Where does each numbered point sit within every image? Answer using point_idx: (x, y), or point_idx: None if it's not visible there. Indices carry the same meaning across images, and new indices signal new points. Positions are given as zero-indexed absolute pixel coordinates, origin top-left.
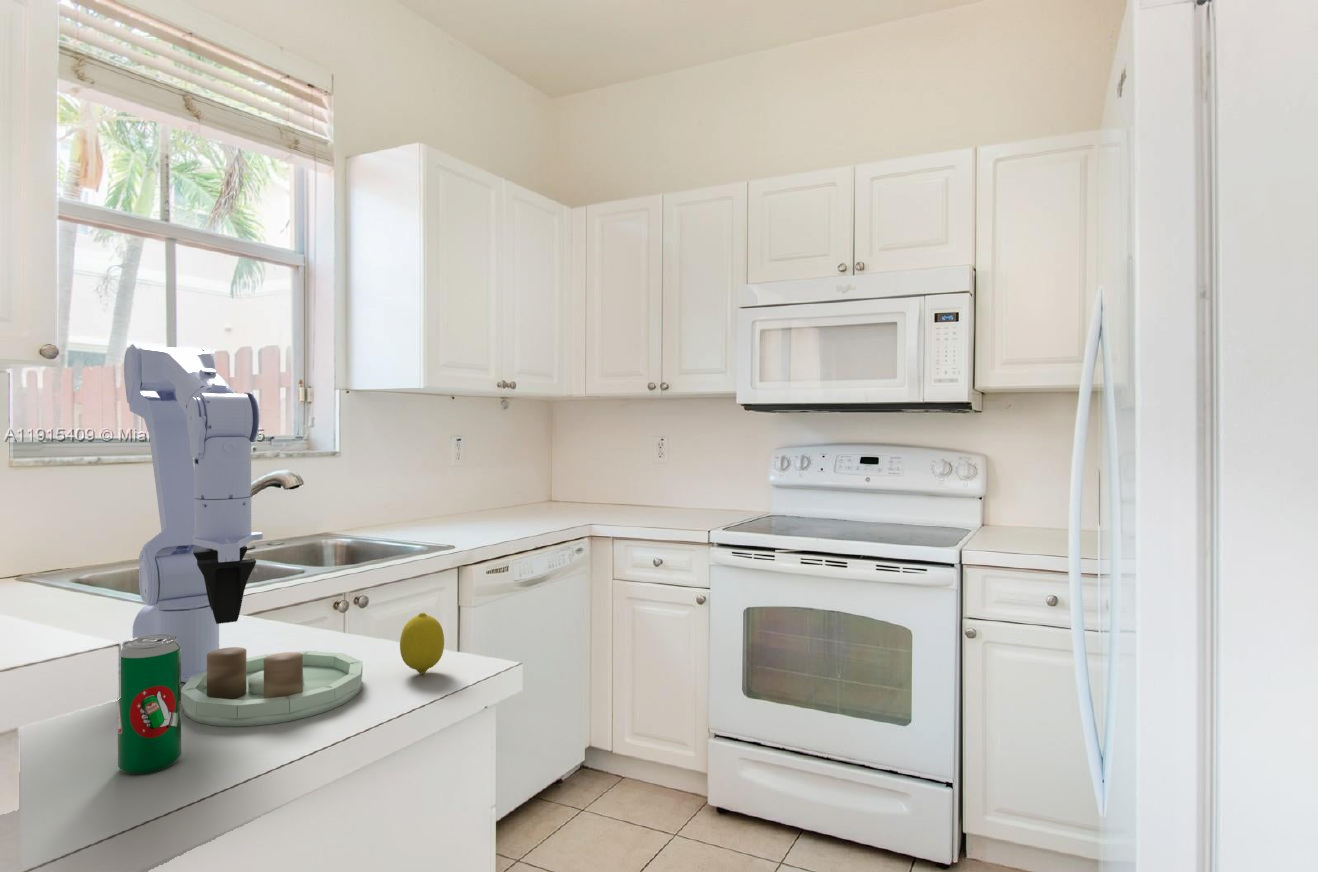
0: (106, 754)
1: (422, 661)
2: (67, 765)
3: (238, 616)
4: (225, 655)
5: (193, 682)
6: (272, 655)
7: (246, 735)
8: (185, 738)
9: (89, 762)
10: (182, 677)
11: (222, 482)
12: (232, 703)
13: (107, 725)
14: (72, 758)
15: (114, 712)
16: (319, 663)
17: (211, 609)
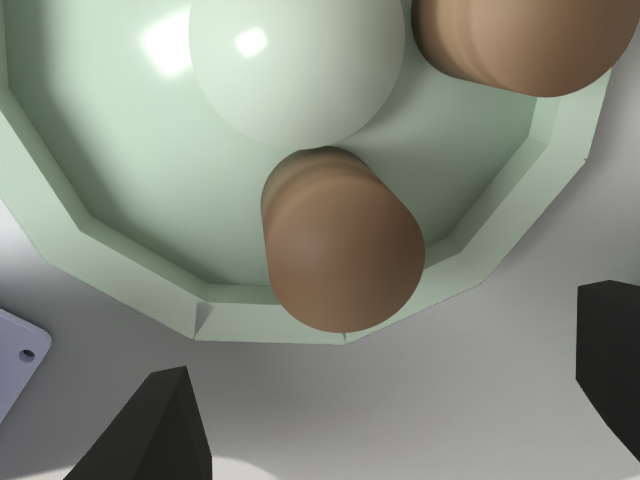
0: (559, 400)
1: None
2: (579, 449)
3: (630, 284)
4: (396, 261)
5: (271, 322)
6: (499, 60)
7: (620, 115)
8: (553, 263)
9: (586, 418)
10: (22, 366)
11: None
12: (558, 176)
13: (363, 446)
14: (544, 452)
15: (266, 458)
16: None
17: (210, 457)
